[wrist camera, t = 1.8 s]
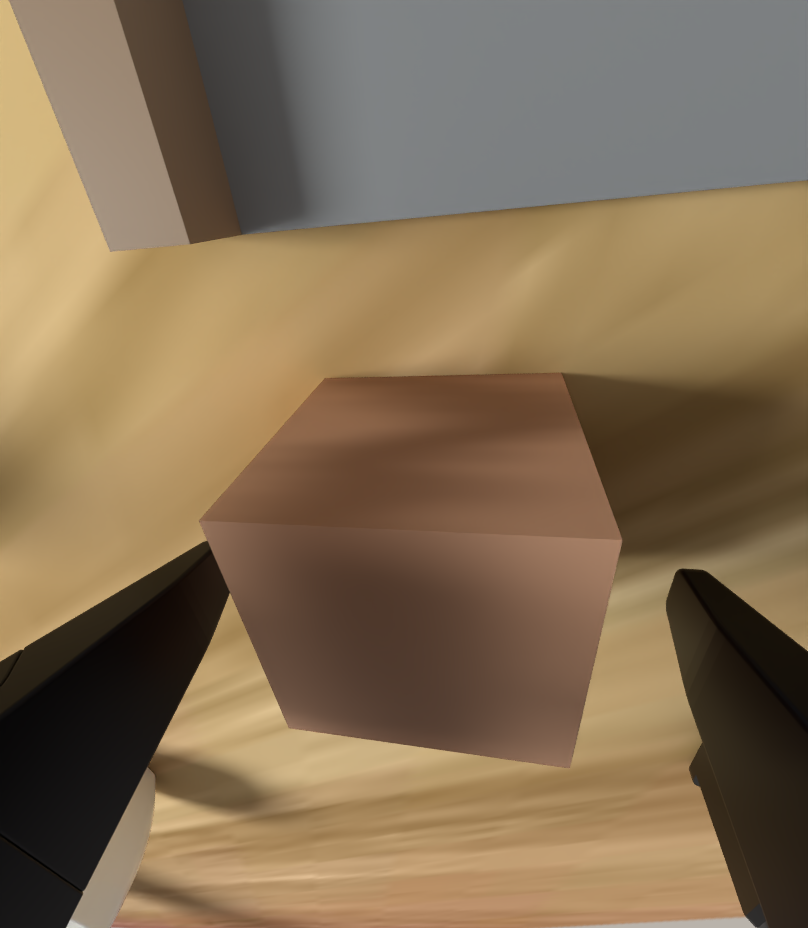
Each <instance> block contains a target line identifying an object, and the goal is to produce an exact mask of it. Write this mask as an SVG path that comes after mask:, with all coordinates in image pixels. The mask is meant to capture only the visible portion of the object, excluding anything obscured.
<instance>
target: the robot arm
mask: <svg viewBox="0 0 808 928" xmlns="http://www.w3.org/2000/svg"><path fill="white" fill-rule="evenodd" d="M229 594H230V591H229V589H228V587H227V584H226V582H225V580H224V577H223V575H222V573H221V570H220V568H219V566H218V564H217V561H216V559H215V557H214V554H213V552H212V550H211V547H210V545H209V543H208V541H205V542H202V543H201V544H199V545H197V546H195V547H194V548H192V549H190V550H189V551H187V552H185V553H184V554H182V555H180V556H179V557H177V558H175V559H173V560H172V561H170V562H168V563H167V564H165V565H163V566H162V567H160V568H158V569H157V570H155V571H153V572H151V573H150V574H148V575H146V576H145V577H143V578H141V579H140V580H138V581H136V582H135V583H133V584H131V585H129V586H128V587H126V588H124V589H123V590H121V591H119V592H118V593H116V594H114V595H112V596H111V597H109V598H107V599H106V600H104V601H102V602H101V603H99V604H97V605H96V606H94V607H92V608H90V609H89V610H87V611H85V612H84V613H82V614H80V615H79V616H77V617H75V618H74V619H72V620H70V621H68V622H67V623H65V624H63V625H62V626H60V627H58V628H57V629H55V630H53V631H52V632H50V633H48V634H46V635H45V636H43V637H41V638H40V639H38V640H36V641H35V642H33V643H31V644H29V645H28V646H26V647H25V648H24V650H19V651H17V652H16V653H14V654H12V655H11V656H9V657H7V658H6V659H4V660H2V661H1V662H0V928H66V927H67V925H68V923H69V921H70V919H71V917H72V915H73V913H74V911H75V909H76V907H77V905H78V903H79V901H80V900H81V898H82V896H83V891H84V890H85V889H86V887H87V885H88V883H89V881H90V879H91V877H92V875H93V873H94V871H95V869H96V867H97V865H98V863H99V861H100V859H101V857H102V856H103V854H104V852H105V850H106V848H107V846H108V844H109V842H110V840H111V838H112V836H113V834H114V832H115V830H116V828H117V826H118V824H119V822H120V820H121V818H122V816H123V814H124V812H125V810H126V808H127V806H128V804H129V802H130V800H131V798H132V796H133V794H134V792H135V790H136V788H137V786H138V785H139V783H140V781H141V779H142V777H143V775H144V773H145V771H146V769H147V767H148V765H149V763H150V761H151V759H152V757H153V755H154V753H155V751H156V749H157V747H158V745H159V743H160V741H161V739H162V737H163V735H164V733H165V731H166V729H167V727H168V725H169V723H170V721H171V719H172V717H173V716H174V714H175V712H176V710H177V708H178V706H179V704H180V702H181V700H182V698H183V696H184V694H185V692H186V690H187V688H188V686H189V684H190V682H191V680H192V678H193V676H194V674H195V672H196V670H197V668H198V666H199V664H200V662H201V660H202V658H203V656H204V654H205V652H206V650H207V648H208V646H209V644H210V642H211V639H212V637H213V635H214V632H215V630H216V627H217V625H218V622H219V619H220V617H221V614H222V612H223V609H224V607H225V604H226V601H227V599H228V596H229ZM666 611H667V616H668V620H669V624H670V629H671V633H672V637H673V642H674V646H675V650H676V654H677V659H678V663H679V667H680V672H681V676H682V680H683V684H684V688H685V692H686V696H687V699H688V702H689V705H690V708H691V711H692V714H693V717H694V719H695V722H696V725H697V728H698V731H699V733H700V736H701V739H702V744H701V746H700V748H699V750H698V752H697V754H696V756H695V757H694V759H693V761H692V763H691V765H690V767H689V771H690V774H691V777H692V780H693V782H694V784H695V785H697V786H699V787H700V788H701V791H702V794H703V796H704V799H705V802H706V805H707V808H708V811H709V814H710V817H711V820H712V823H713V826H714V829H715V831H716V834H717V837H718V840H719V843H720V846H721V849H722V852H723V855H724V858H725V861H726V864H727V866H728V869H729V872H730V875H731V878H732V881H733V884H734V887H735V890H736V893H737V896H738V899H739V901H740V904H741V907H742V910H743V913H744V915H745V916H746V917H747V918H748V919H749V921H750V922H751V923H752V924H753V925H754V926H755V927H757V928H808V651H807V650H806V649H804V648H803V647H802V646H800V645H799V644H798V643H797V642H795V641H794V640H793V639H792V638H790V637H789V636H788V635H787V634H785V633H784V632H783V631H781V630H780V629H779V628H778V627H776V626H775V625H774V624H773V623H771V622H770V621H769V620H768V619H766V618H765V617H764V616H762V615H761V614H760V613H759V612H757V611H756V610H755V609H754V608H752V607H751V606H750V605H749V604H747V603H746V602H745V601H743V600H742V599H741V598H740V597H738V596H737V595H736V594H735V593H733V592H732V591H731V590H730V589H728V588H727V587H726V586H724V585H723V584H722V583H721V582H719V581H718V580H717V579H716V578H714V577H713V576H712V575H711V574H709V573H708V572H706V571H704V570H697V569H679V570H678V571H677V572H676V573H675V576H674V579H673V582H672V585H671V588H670V591H669V594H668V597H667V600H666Z"/></svg>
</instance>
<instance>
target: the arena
mask: <svg viewBox="0 0 808 928" xmlns="http://www.w3.org/2000/svg"><path fill="white" fill-rule="evenodd" d="M9 2H10V4H11V7H12V9H13V12H14V14H15V16H16V19H17V21H18V24H19V26H20V29H21V31H22V34H23V36H24V39H25V41H26V44H27V46H28V49H29V51H30V54H31V56H32V59H33V61H34V64H35V66H36V69H37V71H38V74H39V76H40V79H41V81H42V84H43V86H44V88H45V91H46V93H47V96H48V98H49V101H50V103H51V106H52V108H53V111H54V113H55V116H56V118H57V121H58V123H59V126H60V128H61V131H62V133H63V136H64V138H65V141H66V143H67V146H68V148H69V151H70V153H71V155H72V158H73V160H74V163H75V165H76V168H77V170H78V173H79V175H80V178H81V180H82V183H83V185H84V188H85V190H86V193H87V195H88V198H89V200H90V203H91V205H92V208H93V210H94V213H95V215H96V218H97V220H98V222H99V225H100V227H101V230H102V232H103V235H104V237H105V240H106V242H107V245H108V247H109V250H110V252H112V251H123V250H133V249H144V248H155V247H165V246H176V245H186V244H194V243H199V242H204V241H210V240H215V239H221V238H226V237H231V236H237V235H242V234H253V233H263V232H274V231H284V230H294V229H305V228H315V227H326V226H336V225H346V224H357V223H367V222H377V221H388V220H398V219H409V218H419V217H429V216H440V215H450V214H461V213H471V212H481V211H492V210H502V209H513V208H523V207H533V206H544V205H554V204H565V203H575V202H585V201H596V200H606V199H617V198H627V197H637V196H648V195H658V194H669V193H679V192H689V191H700V190H710V189H721V188H731V187H741V186H752V185H762V184H772V183H783V182H793V181H804V180H808V0H9Z"/></svg>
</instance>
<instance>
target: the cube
mask: <svg viewBox="0 0 808 928" xmlns="http://www.w3.org/2000/svg"><path fill="white" fill-rule="evenodd" d="M199 522H200V524H201V527H202V529H203V531H204V534H205V536H206V538H207V541H208V543H209V545H210V547H211V550H212V552H213V554H214V557H215V559H216V561H217V564H218V566H219V568H220V570H221V573H222V575H223V577H224V580H225V582H226V584H227V587H228V589H229V591H230V594H231V596H232V598H233V600H234V603H235V605H236V607H237V610H238V612H239V614H240V617H241V619H242V621H243V623H244V626H245V628H246V630H247V633H248V635H249V637H250V640H251V642H252V644H253V646H254V649H255V651H256V653H257V656H258V658H259V660H260V663H261V665H262V667H263V669H264V672H265V674H266V676H267V679H268V681H269V683H270V686H271V688H272V690H273V692H274V695H275V697H276V699H277V702H278V704H279V706H280V709H281V711H282V713H283V716H284V718H285V720H286V722H287V725H288V727H289V728H292V729H299V730H306V731H313V732H320V733H327V734H334V735H341V736H348V737H355V738H362V739H369V740H376V741H383V742H390V743H397V744H404V745H411V746H417V747H424V748H431V749H438V750H445V751H452V752H459V753H466V754H473V755H480V756H487V757H494V758H501V759H508V760H515V761H522V762H529V763H536V764H543V765H550V766H557V767H564V768H570V766H571V761H572V757H573V753H574V748H575V744H576V740H577V735H578V731H579V727H580V722H581V718H582V714H583V709H584V705H585V701H586V696H587V692H588V688H589V683H590V679H591V675H592V670H593V666H594V662H595V657H596V653H597V649H598V644H599V640H600V636H601V632H602V627H603V623H604V619H605V614H606V610H607V606H608V601H609V597H610V593H611V588H612V584H613V580H614V575H615V571H616V567H617V562H618V558H619V554H620V549H621V545H622V541H623V540H622V537H621V534H620V532H619V529H618V526H617V523H616V521H615V518H614V515H613V512H612V510H611V507H610V504H609V501H608V499H607V496H606V493H605V491H604V488H603V485H602V482H601V480H600V477H599V474H598V471H597V469H596V466H595V463H594V460H593V458H592V455H591V452H590V449H589V447H588V444H587V441H586V438H585V436H584V433H583V430H582V428H581V425H580V422H579V419H578V417H577V414H576V411H575V408H574V406H573V403H572V400H571V397H570V395H569V392H568V389H567V386H566V384H565V381H564V378H563V375H562V373H535V374H492V375H450V376H408V377H365V378H325V379H324V380H323V381H322V382H321V383H320V384H319V385H318V387H317V388H316V389H315V390H314V391H313V392H312V393H311V394H310V396H309V397H308V398H307V399H306V400H305V401H304V402H303V404H302V405H301V406H300V407H299V408H298V409H297V410H296V411H295V413H294V414H293V415H292V416H291V417H290V418H289V419H288V420H287V422H286V423H285V424H284V425H283V426H282V427H281V428H280V430H279V431H278V432H277V433H276V434H275V435H274V436H273V437H272V439H271V440H270V441H269V442H268V443H267V444H266V445H265V446H264V448H263V449H262V450H261V451H260V452H259V453H258V454H257V456H256V457H255V458H254V459H253V460H252V461H251V462H250V463H249V465H248V466H247V467H246V468H245V469H244V470H243V471H242V472H241V474H240V475H239V476H238V477H237V478H236V479H235V480H234V482H233V483H232V484H231V485H230V486H229V487H228V488H227V489H226V491H225V492H224V493H223V494H222V495H221V496H220V497H219V498H218V500H217V501H216V502H215V503H214V504H213V505H212V506H211V508H210V509H209V510H208V511H207V512H206V513H205V514H204V515H203V517H202V518H201V519H200V520H199Z"/></svg>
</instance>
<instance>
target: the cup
mask: <svg viewBox="0 0 808 928" xmlns="http://www.w3.org/2000/svg"><path fill="white" fill-rule="evenodd" d="M155 788H156V777H155V775H154V773H153V772H152V771H151V770H150V769H149V768H148V767H147V769H146V771H145V773H144V775H143V777H142V779H141V781H140V783H139V785H138V786H137V788H136V790H135V792H134V794H133V796H132V798H131V800H130V802H129V804H128V806H127V808H126V810H125V812H124V814H123V816H122V818H121V820H120V822H119V824H118V826H117V828H116V830H115V832H114V834H113V836H112V838H111V840H110V842H109V844H108V846H107V848H106V850H105V852H104V854H103V856H102V857H101V859H100V861H99V863H98V865H97V867H96V869H95V871H94V873H93V875H92V877H91V879H90V881H89V883H88V885H87V887H86V889H85V890H84V891H83V896H82V898H81V900H80V901H79V903H78V905H77V907H76V909H75V911H74V913H73V915H72V917H71V919H70V921H69V923H68V925H67V927H66V928H111V926H112V924H113V922H114V920H115V918H116V916H117V914H118V913H119V911H120V909H121V907H122V905H123V903H124V901H125V899H126V897H127V895H128V892H129V890H130V888H131V886H132V884H133V882H134V879H135V877H136V875H137V872H138V870H139V867H140V865H141V862H142V859H143V857H144V854H145V851H146V847H147V844H148V840H149V836H150V832H151V827H152V822H153V816H154V808H155Z"/></svg>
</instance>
